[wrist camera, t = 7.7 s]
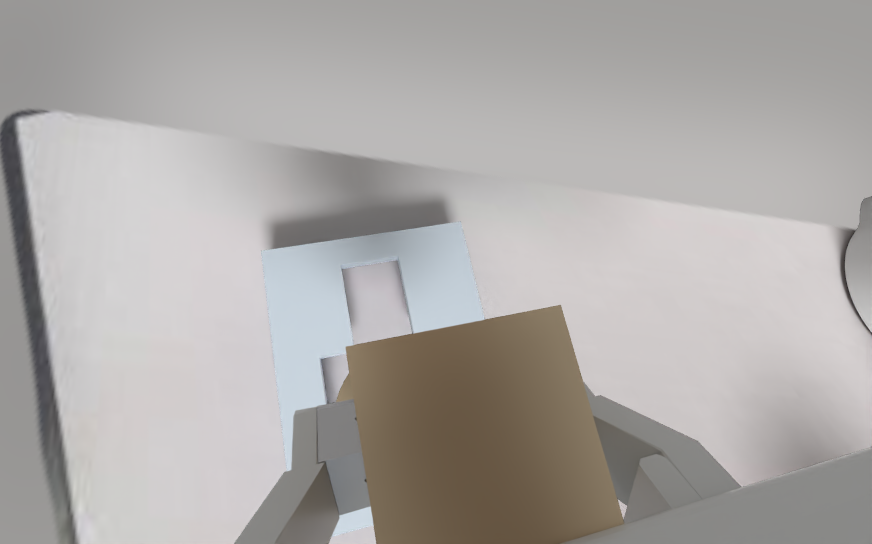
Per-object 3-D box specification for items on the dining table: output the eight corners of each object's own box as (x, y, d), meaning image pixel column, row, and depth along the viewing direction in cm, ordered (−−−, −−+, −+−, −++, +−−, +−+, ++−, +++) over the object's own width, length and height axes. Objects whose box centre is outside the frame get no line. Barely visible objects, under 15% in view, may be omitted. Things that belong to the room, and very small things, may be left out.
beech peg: (470, 328, 18) (602, 228, 8) (505, 480, 17) (728, 607, 6) (324, 356, 17) (254, 285, 7) (348, 523, 16) (306, 763, 5)
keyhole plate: (452, 237, 35) (460, 221, 32) (509, 475, 30) (524, 483, 27) (271, 265, 32) (261, 250, 29) (303, 531, 28) (295, 546, 25)
